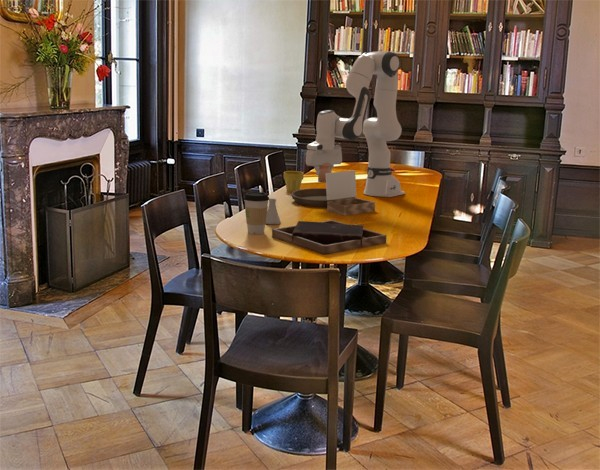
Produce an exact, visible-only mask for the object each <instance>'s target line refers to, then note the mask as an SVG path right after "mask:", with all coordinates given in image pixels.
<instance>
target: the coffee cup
mask: <svg viewBox="0 0 600 470" xmlns="http://www.w3.org/2000/svg"><path fill="white" fill-rule="evenodd" d="M269 199H270V197H269V195H268V193H267V192H263V191H262V192H261V191H249V192H246V193H245V194H244V196H243V199H242V200H244V211H245V212H244V213H245V220H246V228H247V234H249V235H262V234H264V233H265V228H266V227H265V226H266V225H267V224H266V217H267V211H268V207H269Z"/></svg>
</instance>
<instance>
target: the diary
mask: <svg viewBox="0 0 600 470" xmlns="http://www.w3.org/2000/svg"><path fill="white" fill-rule="evenodd" d="M322 222H323V221H307V220H305V221H303V220H299V221H297V222H296V223H297V224H296V225H295V226H296V227H295V229H294V231H293V233H292V242H293V236H298V237H301V238H304V239H307V240H310V241H314V242H317V243H320V244H328V245H329V244H335V243H340V242H346V241H351V240H361V247H362V238H363V235H362V234H363V229H364V224H348V223H345V224H330V223H322Z"/></svg>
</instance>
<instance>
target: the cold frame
mask: <svg viewBox="0 0 600 470" xmlns="http://www.w3.org/2000/svg"><path fill="white" fill-rule="evenodd" d="M326 210H327V212H329V213H332V214H333V213H334V214H338V215H341V216H352V215H359V214H366V213H367V214H368V213H373V212H376V201H371V200H367V199H362V198H360V197H359V198H358V197H355V198H353V199H345V200H337V201H332V200H330V201H329V202H327V207H326Z"/></svg>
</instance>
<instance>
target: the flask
mask: <svg viewBox="0 0 600 470" xmlns="http://www.w3.org/2000/svg"><path fill="white" fill-rule="evenodd" d="M276 202H277V199H276V198H269V200H268V209H267V217H266V224H265V225H271V226H272V225H280V224H281V223H282V222H281V219H280V216H279V212H278V209H277V205H276Z"/></svg>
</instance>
